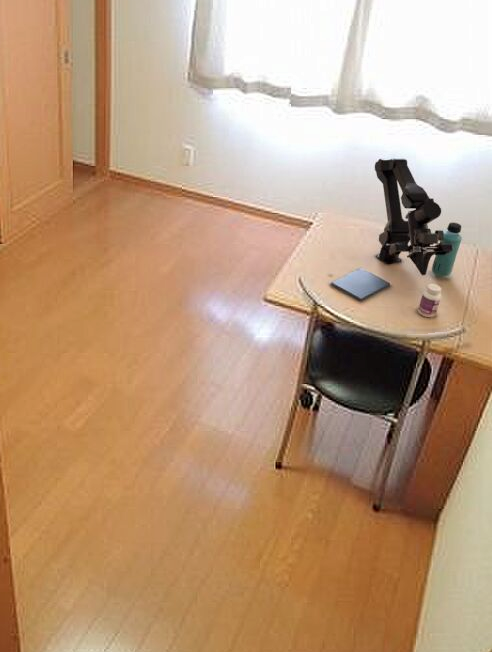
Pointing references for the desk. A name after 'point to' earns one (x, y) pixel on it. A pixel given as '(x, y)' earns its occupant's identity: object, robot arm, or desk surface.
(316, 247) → the desk surface
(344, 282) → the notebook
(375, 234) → the desk surface
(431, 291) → the pill bottle
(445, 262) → the beverage bottle
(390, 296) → the desk surface
